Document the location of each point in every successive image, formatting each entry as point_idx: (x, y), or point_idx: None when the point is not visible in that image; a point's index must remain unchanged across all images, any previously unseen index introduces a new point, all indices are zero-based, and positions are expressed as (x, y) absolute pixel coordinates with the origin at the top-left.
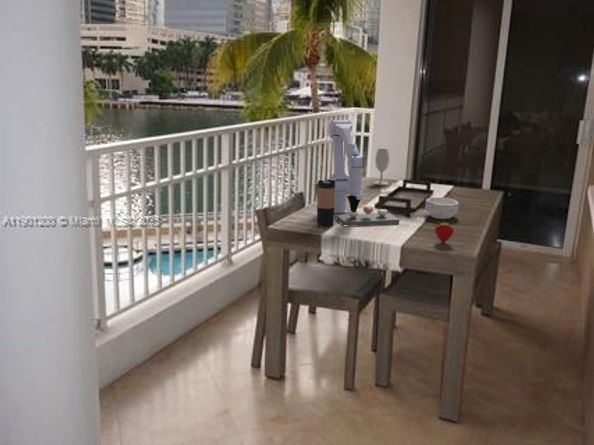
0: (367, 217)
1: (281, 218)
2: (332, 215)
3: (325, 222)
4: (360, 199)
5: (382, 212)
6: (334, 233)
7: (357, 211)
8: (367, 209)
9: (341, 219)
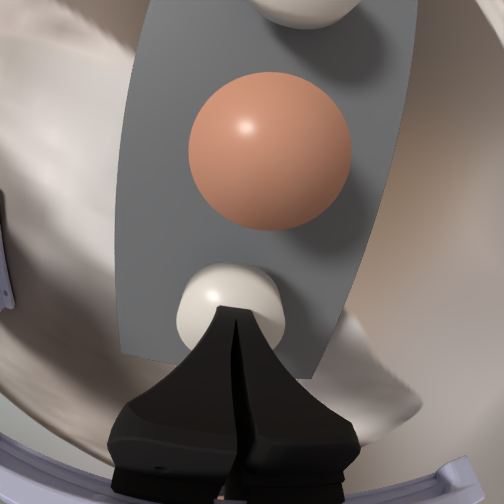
0: None
1: (109, 461)
2: None
3: None
4: (459, 463)
5: (356, 4)
6: (376, 413)
7: (241, 289)
8: (328, 201)
9: None
